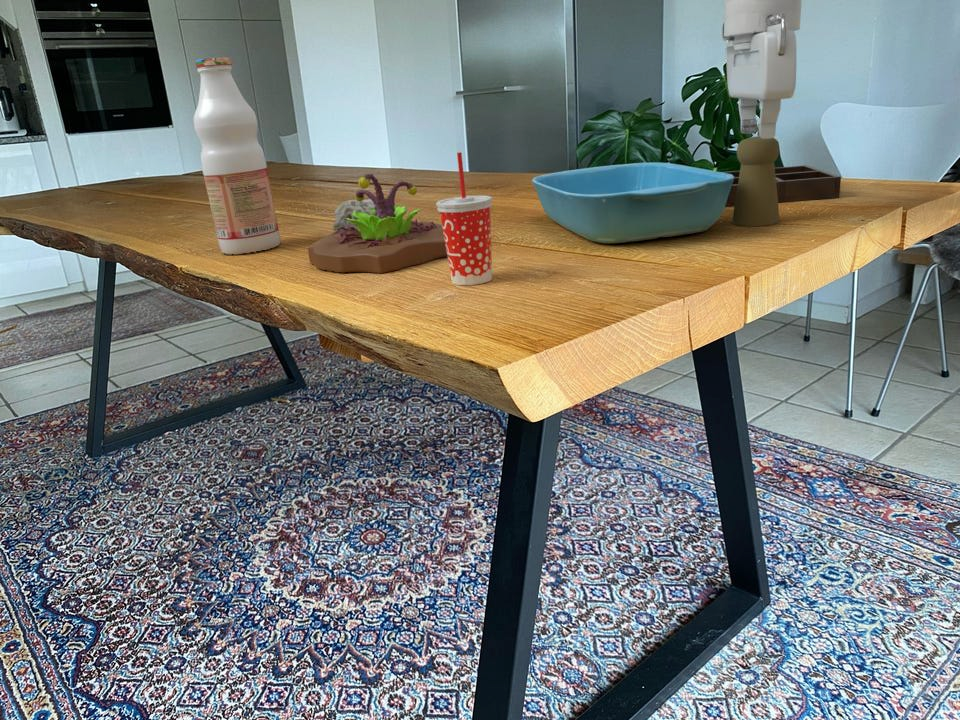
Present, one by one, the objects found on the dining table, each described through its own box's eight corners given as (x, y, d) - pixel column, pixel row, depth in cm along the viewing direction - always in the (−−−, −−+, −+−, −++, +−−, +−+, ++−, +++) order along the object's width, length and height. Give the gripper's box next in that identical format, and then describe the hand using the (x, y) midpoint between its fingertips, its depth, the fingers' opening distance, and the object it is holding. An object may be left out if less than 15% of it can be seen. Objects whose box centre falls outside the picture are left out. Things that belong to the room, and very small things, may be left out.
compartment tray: (806, 183, 125) (807, 165, 124) (839, 197, 110) (841, 176, 109) (706, 191, 127) (706, 173, 126) (725, 206, 112) (725, 185, 111)
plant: (283, 267, 100) (267, 183, 96) (383, 238, 114) (373, 164, 110) (388, 278, 88) (375, 183, 84) (486, 243, 102) (479, 161, 98)
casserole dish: (522, 215, 122) (519, 171, 119) (651, 200, 124) (650, 156, 122) (586, 259, 87) (584, 198, 85) (763, 236, 90) (765, 177, 88)
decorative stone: (322, 229, 129) (317, 200, 127) (380, 219, 133) (376, 191, 131) (342, 237, 118) (337, 206, 117) (404, 226, 123) (400, 196, 121)
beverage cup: (444, 276, 86) (430, 153, 81) (496, 270, 86) (485, 147, 82) (445, 289, 80) (430, 157, 76) (501, 283, 81) (490, 151, 76)
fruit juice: (208, 256, 114) (164, 62, 104) (241, 243, 122) (203, 62, 112) (262, 254, 111) (222, 54, 101) (292, 241, 119) (258, 56, 110)
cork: (726, 220, 102) (728, 137, 98) (770, 216, 102) (774, 133, 98) (739, 227, 96) (741, 140, 93) (786, 223, 96) (790, 136, 92)
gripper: (815, 8, 80) (806, 139, 85) (767, 22, 99) (762, 129, 104) (755, 14, 81) (750, 143, 86) (719, 27, 100) (716, 133, 105)
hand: (756, 135), depth 95 cm, fingers open, 8 cm apart
